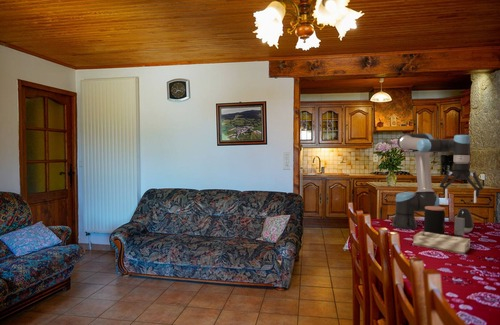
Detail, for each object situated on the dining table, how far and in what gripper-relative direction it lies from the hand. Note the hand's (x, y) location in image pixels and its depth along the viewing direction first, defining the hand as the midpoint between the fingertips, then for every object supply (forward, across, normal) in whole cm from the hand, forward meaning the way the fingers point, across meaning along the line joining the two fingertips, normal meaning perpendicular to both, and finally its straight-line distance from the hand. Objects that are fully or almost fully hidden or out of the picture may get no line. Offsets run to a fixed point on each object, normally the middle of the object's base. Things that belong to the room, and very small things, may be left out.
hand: (460, 201), depth 182 cm
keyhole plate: (+24, -6, -12) cm, 27 cm away
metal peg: (+24, 0, 0) cm, 24 cm away
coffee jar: (+24, -14, +6) cm, 29 cm away
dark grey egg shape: (+24, -4, +35) cm, 43 cm away
